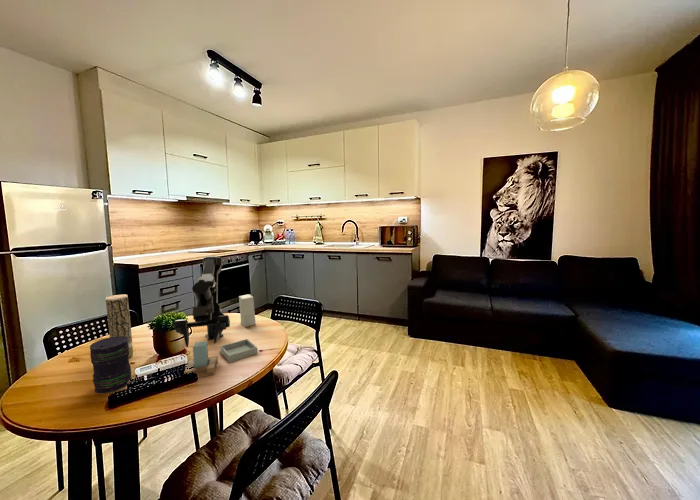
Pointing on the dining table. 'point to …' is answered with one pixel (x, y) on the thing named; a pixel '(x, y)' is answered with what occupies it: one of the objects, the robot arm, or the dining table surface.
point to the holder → (205, 369)
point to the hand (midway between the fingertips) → (201, 345)
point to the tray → (238, 350)
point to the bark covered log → (119, 318)
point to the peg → (200, 354)
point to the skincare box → (247, 310)
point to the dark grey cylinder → (110, 364)
